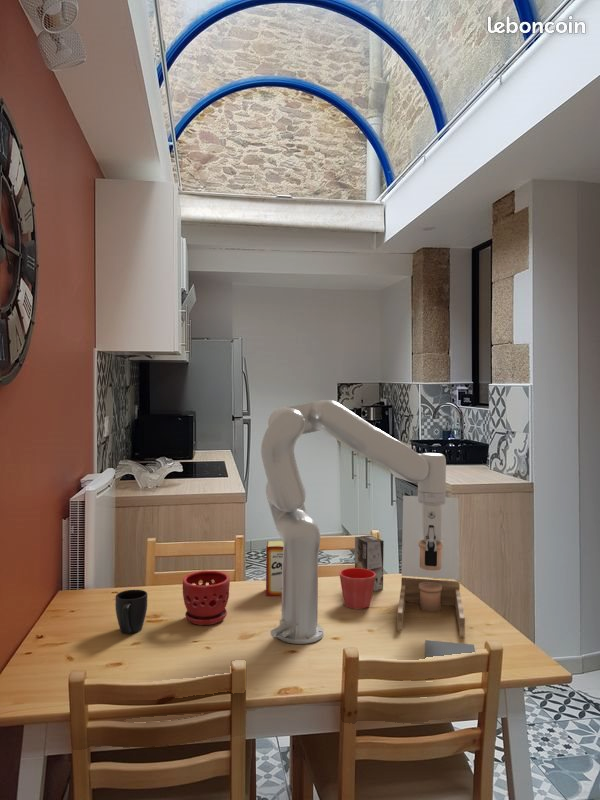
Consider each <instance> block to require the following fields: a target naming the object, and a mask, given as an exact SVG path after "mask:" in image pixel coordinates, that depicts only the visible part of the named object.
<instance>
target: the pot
mask: <svg viewBox="0 0 600 800" xmlns="http://www.w3.org/2000/svg"><path fill="white" fill-rule="evenodd" d="M419 590H420V603H419V609H420V610H421V611H422V612H425V613H438V612H441V604H440V595H441V591H442V585H440V584H438V583H435V582H421V583H419Z"/></svg>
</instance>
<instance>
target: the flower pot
mask: <svg viewBox="0 0 600 800" xmlns="http://www.w3.org/2000/svg"><path fill="white" fill-rule="evenodd" d="M375 577H376V574H375V573H374V572H373V571H371V570H368V569H362V568H355V567H349V568H345V569H342V570H340V571H339V581H340V585H341V587H340V588H341V592H342V598H343V603H344V605H345V606H346V607H347V608H350V609H353V608H354V610H362V609H363V608H364V609H366V607H367V608H369V607H370V605H371V601H372V597H373V592H374V591H373V588H374V583H375Z"/></svg>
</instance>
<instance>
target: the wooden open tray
mask: <svg viewBox="0 0 600 800" xmlns="http://www.w3.org/2000/svg"><path fill="white" fill-rule="evenodd" d="M400 579H401V585H400V586H401V587H400V591H399V592H400V593H399V601H398V608H397V632H401V631H402V632H403V627H404V618H405V617H404V615H405V608H406V607H405V606H406V601H407V603H419V604H420V590H419V583H421V582H435V583H438V584H440V585H442V591H441V595H440V605H441V606H442V605H444V606H455V613H456V620H457V626H458V634H459V638H465V637H466V636H465V635H466V633H465V632H466V631H465V630H466V629H465V628H466V627H465V626H466V625H465V624H466V623H465V622H466V621H465V620H466V619H465V618H466V617H465V613H464V607H463V602H462V601H463V600H462V595H461V590H460V588H461V587H460V584H461V582H460V581H458V580H445V579H444V580H443V579H431V578H428V579H427V578H426V579H425V578H417V577H416V578H415V577H404V576H402V577H401V578H400Z"/></svg>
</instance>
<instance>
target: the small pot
mask: <svg viewBox="0 0 600 800" xmlns="http://www.w3.org/2000/svg"><path fill="white" fill-rule="evenodd" d="M428 543H429V542H428ZM418 546H419V547H420V568H422V569H425V570H440V569H442V548H443V547H444V543H443V542H442V541H439V540H436V551H437V566H426V565H425V550H426V540H424V539H422V540H419V542H418Z"/></svg>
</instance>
